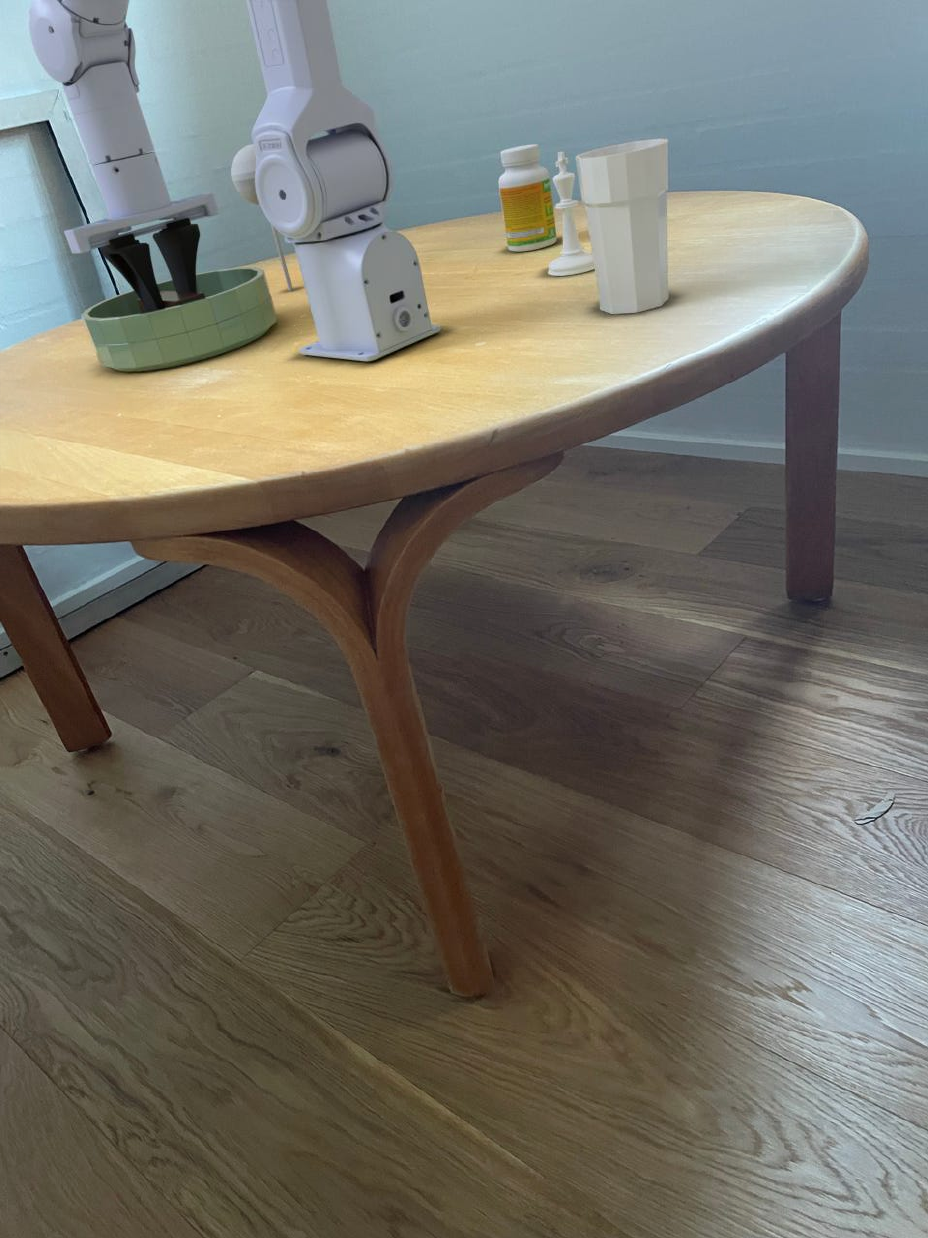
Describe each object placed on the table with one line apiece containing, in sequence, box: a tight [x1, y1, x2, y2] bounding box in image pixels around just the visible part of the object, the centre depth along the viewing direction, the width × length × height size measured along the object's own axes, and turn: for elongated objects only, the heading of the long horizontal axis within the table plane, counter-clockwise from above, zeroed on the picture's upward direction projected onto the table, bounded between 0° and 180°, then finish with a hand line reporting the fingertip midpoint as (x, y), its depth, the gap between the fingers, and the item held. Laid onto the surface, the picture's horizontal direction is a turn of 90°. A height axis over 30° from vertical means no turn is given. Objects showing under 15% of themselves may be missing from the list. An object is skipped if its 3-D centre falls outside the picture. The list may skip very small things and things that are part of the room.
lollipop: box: [230, 143, 294, 292], centre depth 100 cm, size 6×6×15 cm
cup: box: [575, 138, 670, 315], centre depth 68 cm, size 7×7×11 cm
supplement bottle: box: [497, 143, 557, 253], centre depth 97 cm, size 5×5×10 cm
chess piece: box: [547, 150, 595, 277], centre depth 83 cm, size 5×5×10 cm
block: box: [137, 291, 205, 313], centre depth 88 cm, size 8×3×3 cm, turn 46°
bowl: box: [80, 266, 277, 373], centre depth 87 cm, size 17×17×5 cm
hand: (175, 312), depth 88 cm, fingers closed on block, 3 cm apart
